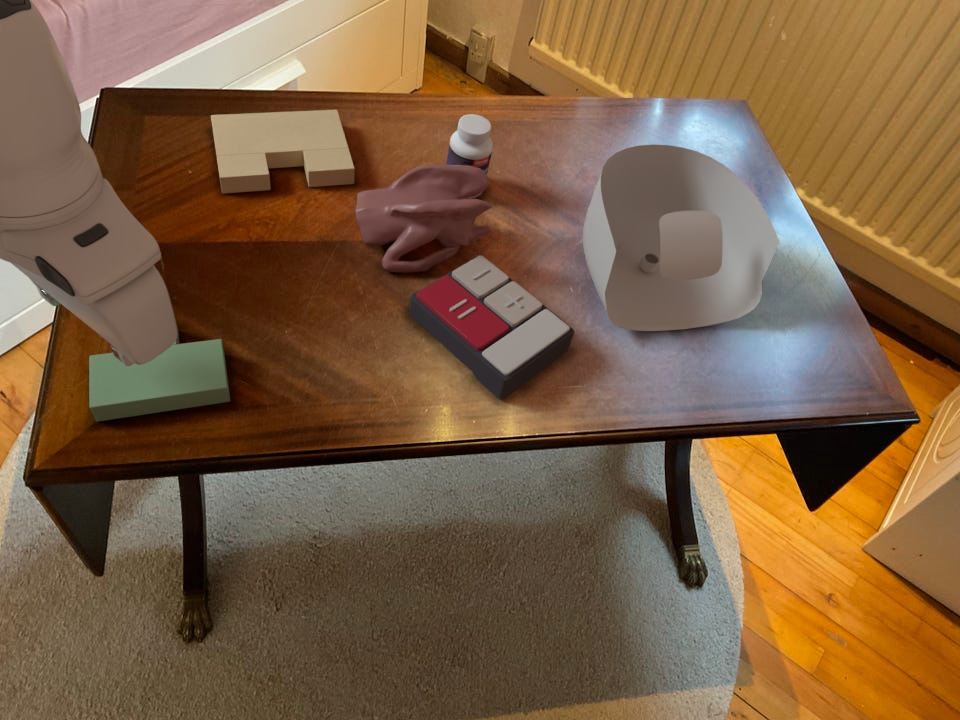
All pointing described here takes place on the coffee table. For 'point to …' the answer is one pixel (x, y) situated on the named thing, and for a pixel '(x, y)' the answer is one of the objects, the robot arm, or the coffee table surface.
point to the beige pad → (280, 148)
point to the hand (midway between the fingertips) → (93, 327)
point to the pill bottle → (471, 143)
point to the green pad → (158, 381)
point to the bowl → (675, 240)
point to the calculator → (491, 325)
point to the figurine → (424, 214)
